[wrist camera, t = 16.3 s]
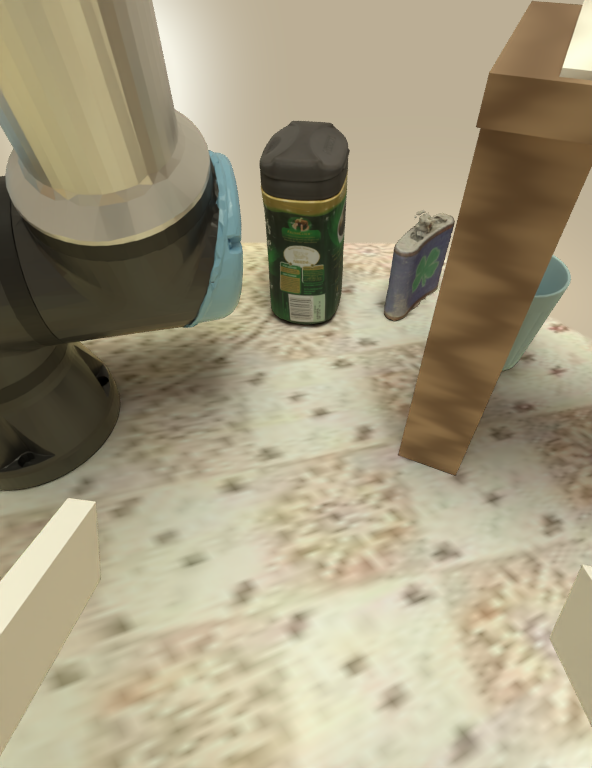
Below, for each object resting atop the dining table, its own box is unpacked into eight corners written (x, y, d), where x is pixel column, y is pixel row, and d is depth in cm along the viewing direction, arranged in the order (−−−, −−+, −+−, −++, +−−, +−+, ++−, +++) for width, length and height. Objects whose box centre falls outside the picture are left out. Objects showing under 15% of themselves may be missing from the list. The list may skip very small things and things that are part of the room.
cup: (463, 318, 54) (490, 235, 46) (535, 340, 52) (576, 256, 44) (443, 363, 50) (469, 280, 42) (521, 389, 47) (564, 306, 39)
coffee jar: (281, 272, 60) (272, 110, 46) (345, 278, 59) (356, 114, 45) (263, 324, 54) (247, 156, 40) (334, 332, 53) (343, 162, 39)
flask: (396, 325, 54) (412, 239, 46) (375, 313, 55) (387, 227, 47) (442, 286, 58) (464, 201, 50) (421, 276, 59) (439, 192, 51)
